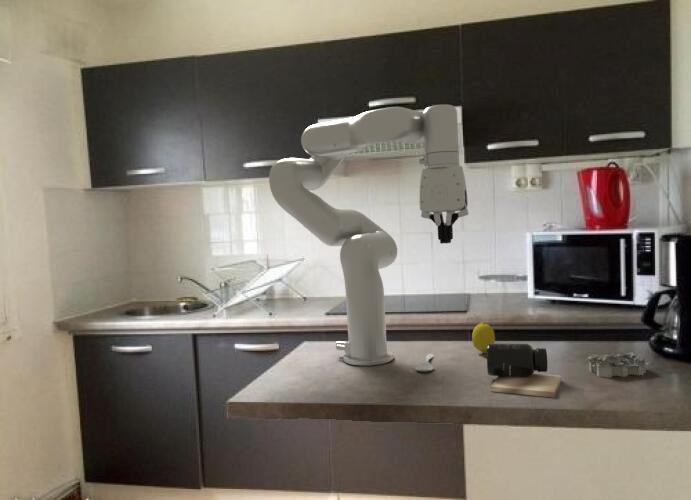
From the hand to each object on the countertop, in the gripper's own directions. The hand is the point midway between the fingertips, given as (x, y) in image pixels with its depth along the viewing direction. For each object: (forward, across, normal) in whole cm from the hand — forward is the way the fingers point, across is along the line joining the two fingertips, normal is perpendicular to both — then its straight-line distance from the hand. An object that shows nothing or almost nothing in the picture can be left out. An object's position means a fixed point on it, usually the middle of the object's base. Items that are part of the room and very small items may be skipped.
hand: (445, 242), depth 126 cm
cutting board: (+29, +18, -8) cm, 35 cm away
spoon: (+30, -7, +4) cm, 31 cm away
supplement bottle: (+25, +10, -6) cm, 27 cm away
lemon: (+29, +4, +15) cm, 33 cm away
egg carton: (+30, +34, +8) cm, 46 cm away
